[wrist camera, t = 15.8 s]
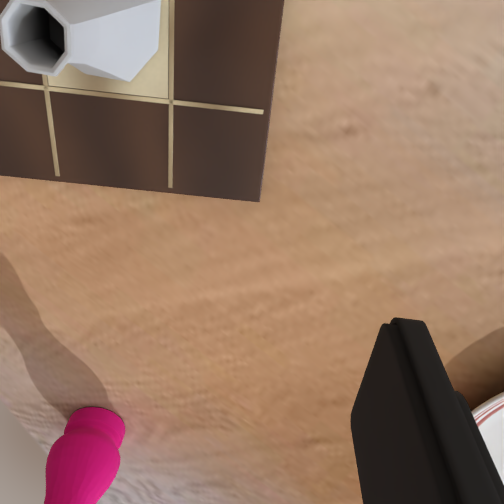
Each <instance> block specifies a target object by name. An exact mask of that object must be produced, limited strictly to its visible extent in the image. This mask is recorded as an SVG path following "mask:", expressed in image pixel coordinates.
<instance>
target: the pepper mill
mask: <svg viewBox="0 0 504 504" xmlns="http://www.w3.org/2000/svg"><path fill="white" fill-rule="evenodd" d="M124 434H125V426H124V423H123V421H122V420H121V418H120V417H118V416H117V415H116V414H115V413H113V412H111V411H109V410H107V409H103V408H99V407H85V408H82V409H79V410H77V411H75V412H74V413H73V414H72V415H71V417H70V419H69V421H68V423H67V425H66V428H65V430H64V435H63V436H61V437H60V438H59V439H58V440H56V442H55V443H54V444H53V446H52V447H51V449H50V452H49V455H48V458H47V464H46V497H45V501H44V504H96V503H97V501H98V500H99V499H100V498H101V496H102V495H103V494H104V493H105V491H106V490H107V489H108V488H109V486H110V485H111V483H112V481H113V480H114V478H115V476H116V474H117V471H118V469H119V466H120V455H119V451H118V449H119V447H120V446H121V443H122V440H123V437H124Z"/></svg>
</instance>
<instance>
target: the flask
mask: <svg viewBox="0 0 504 504" xmlns="http://www.w3.org/2000/svg"><path fill="white" fill-rule="evenodd" d="M160 9H161V0H10V1H9V3H8V4H7V6H6V7H5V9H4V10H3V11H2V13H1V14H0V36H1V45H2V50H3V51H4V52H6V53H7V54H8V55H9V56H10V57H11V58H12V59H13V60H15V61H16V62H17V63H18V64H19V65H20V66H21V67H22V68H24V69H25V70H26V71H27V72H33V73H38V74H44V75H49V76H58V74H59V73H60V72H61V71H62V69H63V68H64V67H65V65H66V64H67V63H68V64H70V65H72V66H74V67H75V68H77V69H78V70H80V71H81V72H83V73H85V74H88V75H94V76H99V77H105V78H110V79H116V80H121V81H127V82H130V81H131V80H132V79H133V78H134V77H135V76H136V75H137V73H138V72H139V71H140V70H141V69H142V68H143V66H144V65H145V64H146V63H147V62H148V61H149V60H150V58H151V57H152V56H153V55H154V54H155V53H156V52H157V50H158V43H159V26H160Z"/></svg>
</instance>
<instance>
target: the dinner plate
mask: <svg viewBox="0 0 504 504" xmlns="http://www.w3.org/2000/svg"><path fill="white" fill-rule="evenodd" d="M471 412H472V415H473V417H474V419H475V421H476V424H477V426H478V428H479V430H480V433H481V435H482V437H483V439H484V442H485V444H486V446H487V448H488V451H489V453H490V455H491V457H492V460H493V462H494V464H495V466H496V469H497V471H498V473H499V475H500V478H501V480H502V482H503V484H504V392H502V393H500V394H498V395H496V396H494V397H493V398H491V399H489V400H487V401H486V402H484V403H483V404H481V405H480V406H478V407H477V408H475V409H474V410H473V411H471Z"/></svg>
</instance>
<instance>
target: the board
mask: <svg viewBox="0 0 504 504" xmlns="http://www.w3.org/2000/svg"><path fill="white" fill-rule="evenodd" d="M9 1H10V0H0V14H1V13H2V11H3V10H4V9H5V7H6V6H7V4H8V3H9ZM283 6H284V0H161V9H160V26H159V43H158V50H157V52H156V53H155V54H154V55H153V56H152V57H151V58H150V60H149V61H148V62H147V63H146V64H145V65H144V66H143V68H142V69H141V70H140V71H139V72H138V73H137V75H136V76H135V77H134V78H133V79H132V80H131V81H130V82H127V81H121V80H116V79H110V78H105V77H99V76H94V75H88V74H85V73H83V72H81V71H80V70H78V69H77V68H75V67H74V66H72V65H70V64H68V63H67V64H66V65H65V67H64V68H63V69H62V71H61V72H60V73H59V74H58V76H49V75H44V74H38V73H33V72H27V71H26V70H25V69H24V68H22V67H21V66H20V65H19V64H18V63H17V62H16V61H15V60H13V59H12V58H11V57H10V56H9V55H8V54H7V53H6V52H4V51H3V50H2V45H1V36H0V175H2V176H11V177H21V178H31V179H40V180H50V181H59V182H69V183H79V184H88V185H98V186H108V187H117V188H127V189H136V190H146V191H156V192H165V193H175V194H185V195H194V196H204V197H213V198H223V199H233V200H242V201H252V202H260V195H261V187H262V179H263V171H264V163H265V154H266V146H267V138H268V130H269V121H270V113H271V105H272V97H273V88H274V80H275V72H276V64H277V55H278V47H279V39H280V31H281V23H282V14H283Z"/></svg>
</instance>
